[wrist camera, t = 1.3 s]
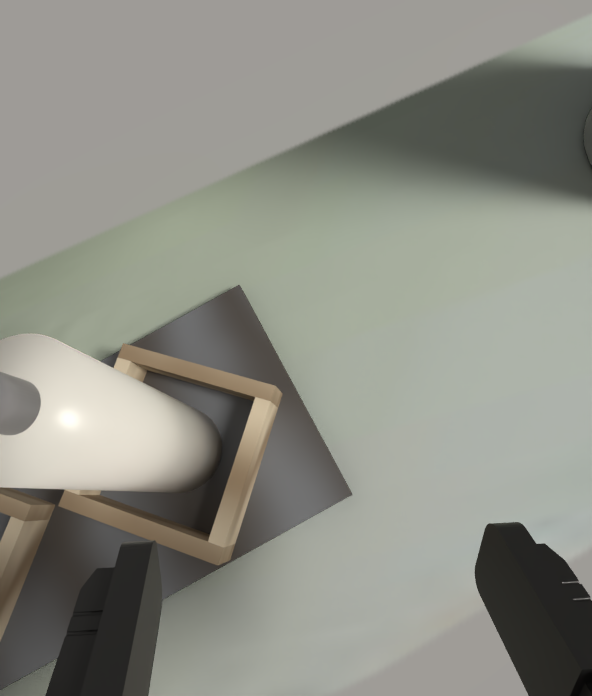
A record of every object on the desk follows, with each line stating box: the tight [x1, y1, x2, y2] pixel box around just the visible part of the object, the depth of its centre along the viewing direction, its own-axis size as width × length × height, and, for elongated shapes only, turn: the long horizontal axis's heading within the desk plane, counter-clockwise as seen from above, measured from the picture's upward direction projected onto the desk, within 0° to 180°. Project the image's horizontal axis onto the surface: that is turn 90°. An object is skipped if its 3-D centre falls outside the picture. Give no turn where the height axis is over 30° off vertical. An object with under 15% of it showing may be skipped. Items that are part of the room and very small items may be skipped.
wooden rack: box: [0, 285, 352, 690], centre depth 25 cm, size 14×27×6 cm, turn 118°
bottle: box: [0, 333, 222, 493], centre depth 19 cm, size 4×4×16 cm
